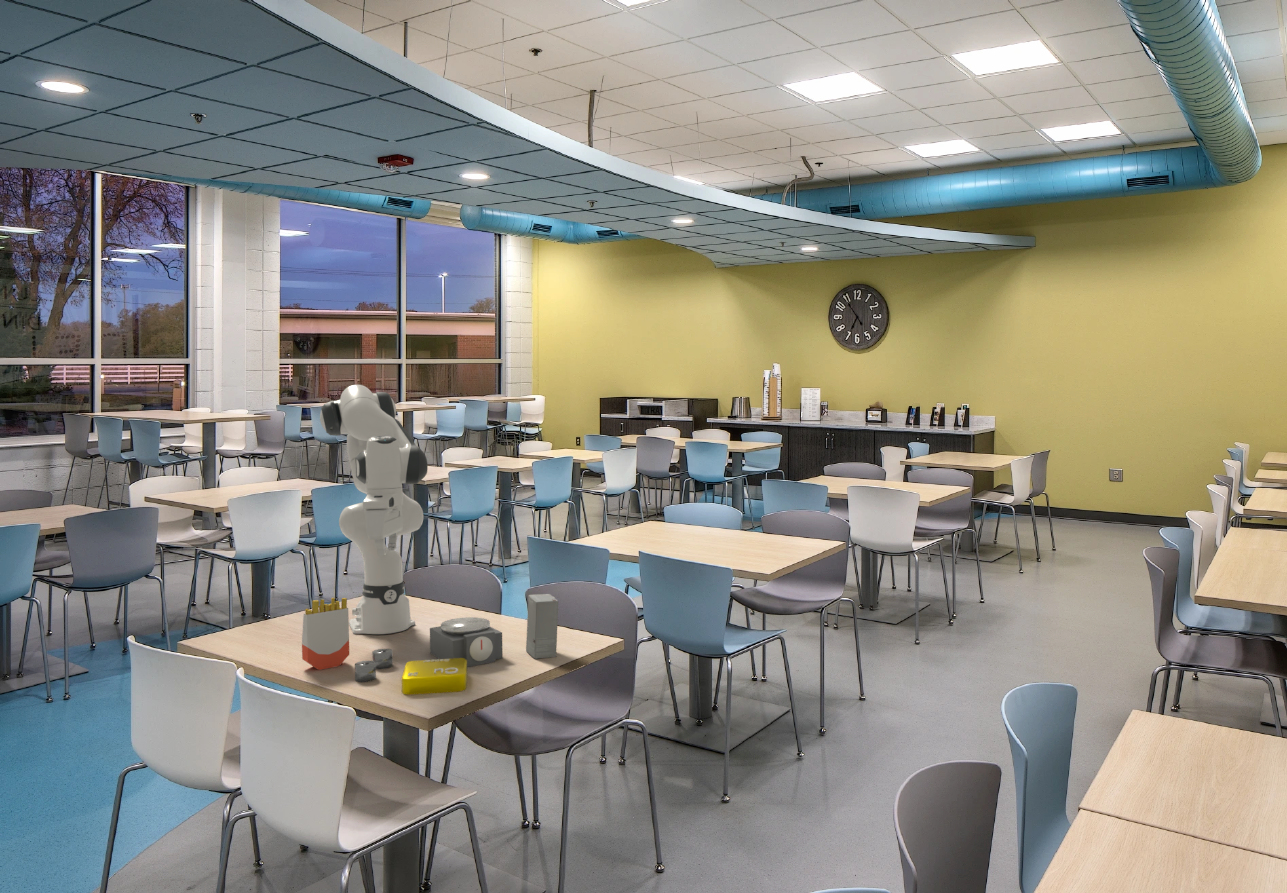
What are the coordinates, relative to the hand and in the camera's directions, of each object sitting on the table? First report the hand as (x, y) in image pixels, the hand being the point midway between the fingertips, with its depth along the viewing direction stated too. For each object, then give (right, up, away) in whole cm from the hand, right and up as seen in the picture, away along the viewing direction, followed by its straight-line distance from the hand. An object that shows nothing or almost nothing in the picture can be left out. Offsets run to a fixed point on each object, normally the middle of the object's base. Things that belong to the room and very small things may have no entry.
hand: (387, 552), depth 230 cm
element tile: (+15, -31, -11) cm, 37 cm away
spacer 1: (-3, -31, -8) cm, 32 cm away
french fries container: (-17, -30, +3) cm, 35 cm away
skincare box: (+39, -29, +13) cm, 50 cm away
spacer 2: (-2, -30, +3) cm, 30 cm away
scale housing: (+19, -29, +11) cm, 36 cm away
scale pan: (+18, -22, +11) cm, 30 cm away
